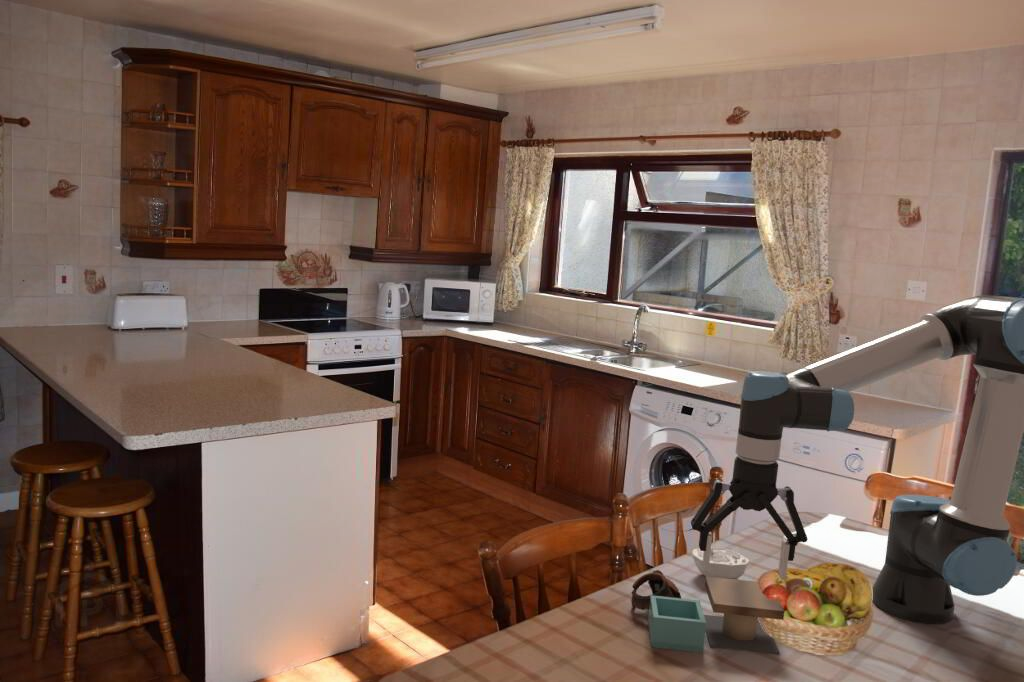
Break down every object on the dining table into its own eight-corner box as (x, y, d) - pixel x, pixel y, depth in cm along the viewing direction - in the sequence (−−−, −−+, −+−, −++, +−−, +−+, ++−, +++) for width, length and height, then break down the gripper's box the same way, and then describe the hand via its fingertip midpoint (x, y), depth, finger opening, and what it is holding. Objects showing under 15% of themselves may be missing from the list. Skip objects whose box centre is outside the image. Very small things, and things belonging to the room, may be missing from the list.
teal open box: (697, 628, 150) (699, 600, 149) (703, 652, 141) (706, 622, 140) (647, 623, 151) (650, 595, 150) (650, 646, 142) (653, 617, 141)
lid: (769, 591, 153) (770, 583, 153) (783, 619, 141) (784, 611, 141) (704, 584, 154) (705, 576, 154) (713, 612, 143) (714, 603, 142)
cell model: (746, 592, 168) (749, 561, 167) (687, 581, 172) (690, 550, 171) (748, 574, 177) (751, 544, 177) (692, 564, 181) (695, 535, 180)
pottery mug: (690, 626, 152) (674, 592, 150) (642, 640, 154) (626, 607, 152) (682, 584, 163) (668, 553, 161) (638, 598, 165) (623, 567, 163)
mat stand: (765, 623, 154) (769, 591, 153) (779, 654, 142) (783, 619, 141) (701, 616, 155) (704, 584, 154) (710, 646, 143) (713, 612, 143)
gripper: (823, 460, 147) (808, 572, 150) (683, 446, 150) (672, 556, 152) (834, 471, 140) (819, 589, 142) (688, 456, 142) (675, 572, 145)
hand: (743, 572), depth 147 cm, fingers open, 13 cm apart
